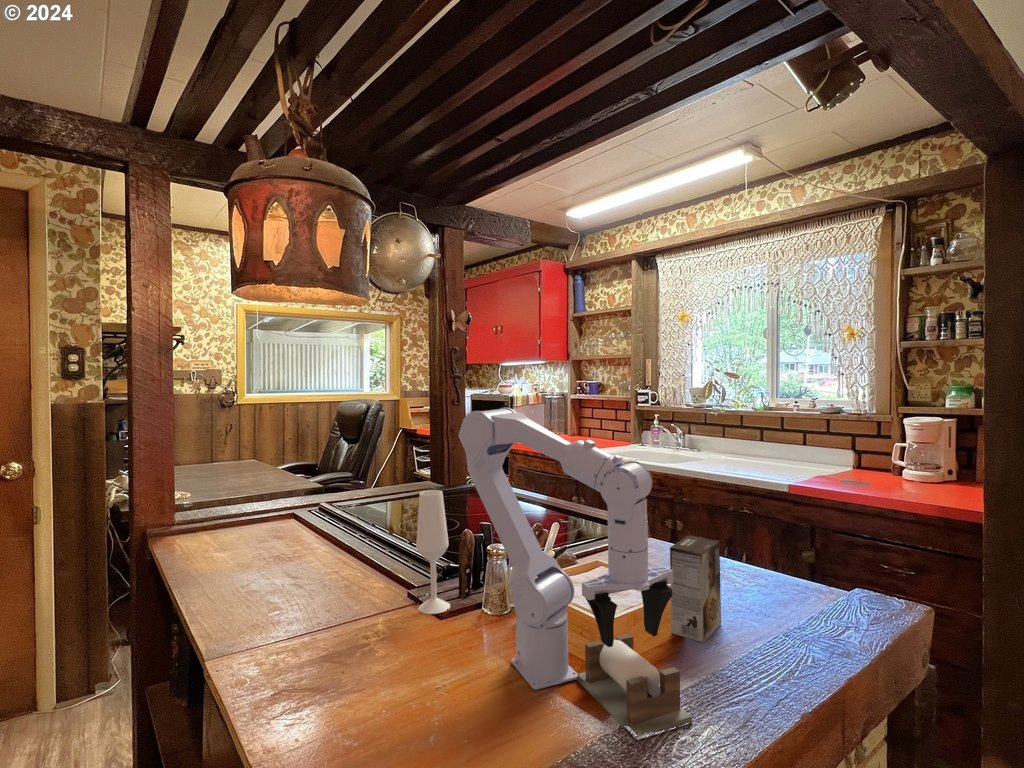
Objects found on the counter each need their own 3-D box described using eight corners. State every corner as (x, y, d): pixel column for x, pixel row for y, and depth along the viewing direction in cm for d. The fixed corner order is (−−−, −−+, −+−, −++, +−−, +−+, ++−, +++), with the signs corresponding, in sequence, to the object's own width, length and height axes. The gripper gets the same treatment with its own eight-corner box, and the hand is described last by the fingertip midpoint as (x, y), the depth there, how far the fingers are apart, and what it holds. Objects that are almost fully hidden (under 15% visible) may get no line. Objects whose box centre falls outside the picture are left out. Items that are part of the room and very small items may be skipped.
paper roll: (599, 671, 88) (586, 646, 87) (622, 651, 90) (610, 626, 89) (649, 718, 76) (635, 689, 75) (676, 693, 78) (662, 665, 77)
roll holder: (577, 680, 88) (576, 639, 88) (625, 667, 92) (625, 628, 92) (636, 741, 74) (635, 692, 74) (692, 723, 77) (691, 676, 77)
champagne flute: (413, 604, 119) (410, 491, 118) (443, 598, 122) (440, 488, 122) (423, 616, 113) (420, 497, 113) (455, 609, 116) (452, 493, 116)
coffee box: (689, 616, 110) (687, 534, 110) (722, 624, 106) (721, 540, 106) (669, 633, 103) (668, 546, 103) (704, 643, 99) (703, 552, 99)
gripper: (599, 562, 76) (601, 661, 76) (686, 547, 81) (687, 640, 82) (573, 547, 82) (575, 639, 83) (655, 534, 88) (657, 620, 88)
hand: (629, 638), depth 83 cm, fingers open, 7 cm apart
